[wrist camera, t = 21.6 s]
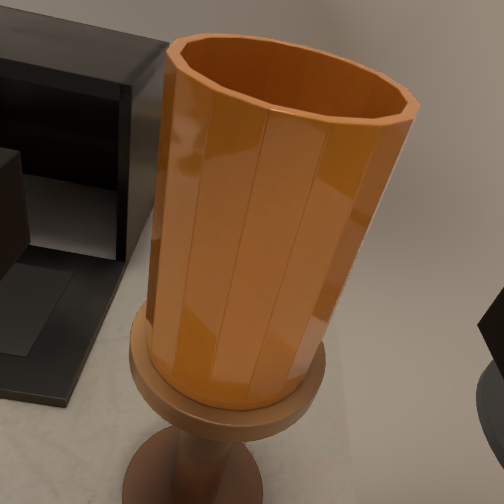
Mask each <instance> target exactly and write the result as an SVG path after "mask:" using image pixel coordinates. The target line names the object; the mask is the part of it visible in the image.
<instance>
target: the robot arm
mask: <svg viewBox="0 0 504 504" xmlns="http://www.w3.org/2000/svg"><path fill="white" fill-rule="evenodd" d="M30 242H31V241H30V232H29V224H28V215H27V207H26V198H25V190H24V181H23V173H22V165H21V156H20V151H17V150H12V149H7V148H2V147H0V281H1V280H2V278H3V277H4V276H5V275H6V273H7V272H8V271H9V269H10V268H11V267H12V266H13V264H14V263H15V262H16V260H17V259H18V258H19V257H20V255H21V254H22V253H23V251H24V250H25V249H26V247H27V246H28V245H29V244H30ZM477 326H478V328H479V330H480V332H481V334H482V336H483V338H484V340H485V342H486V344H487V346H488V348H489V350H490V352H491V355H492V357H493V359H494V361H495V363H496V365H497V367H498V369H499V371H500V373H501V375H502V377H503V380H504V288H503V289H502V290H501V292H500V294H499V295H498V296H497V298H496V299H495V300H494V302H493V303H492V305H491V306H490V307H489V309H488V310H487V312H486V313H485V315H484V316H483V317H482V319H481V320H480V322H479V323H478V324H477Z"/></svg>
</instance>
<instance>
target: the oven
mask: <svg viewBox="0 0 504 504" xmlns="http://www.w3.org/2000/svg"><path fill="white" fill-rule="evenodd" d="M168 48H169V42H165V41H160V40H155V39H151V38H146V37H142V36H137V35H133V34H128V33H123V32H119V31H114V30H110V29H106V28H101V27H96V26H92V25H87V24H83V23H78V22H73V21H68V20H64V19H59V18H55V17H51V16H46V15H41V14H37V13H32V12H27V11H23V10H19V9H14V8H9V7H5V6H0V147H2V148H7V149H12V150H17V151H20V156H21V165H22V173H24V174H29V175H35V176H40V177H45V178H50V179H56V180H61V181H66V182H71V183H76V184H82V185H87V186H92V187H97V188H103V189H108V190H113V191H117V236H116V260H111V259H105V258H100V257H94V256H89V255H83V254H77V253H72V252H66V251H61V250H55V249H50V248H44V247H38V246H33V245H28V246H27V247H26V249H25V250H24V251H23V253H22V254H21V255H20V257H19V258H18V259H17V260H16V262H15V263H14V264H13V266H12V267H11V268H10V269H9V271H8V272H7V273H6V275H5V276H4V277H3V278H2V280H1V281H0V398H7V399H13V400H20V401H26V402H33V403H39V404H46V405H52V406H59V407H66V405H67V403H68V401H69V398H70V396H71V394H72V392H73V389H74V387H75V385H76V382H77V380H78V378H79V375H80V373H81V371H82V368H83V366H84V364H85V362H86V359H87V357H88V355H89V352H90V350H91V348H92V345H93V343H94V341H95V339H96V336H97V334H98V332H99V329H100V327H101V325H102V322H103V320H104V318H105V315H106V313H107V311H108V309H109V306H110V304H111V302H112V299H113V297H114V295H115V292H116V290H117V288H118V285H119V283H120V281H121V279H122V276H123V274H124V272H125V269H126V267H127V265H128V262H129V260H130V258H131V256H132V253H133V251H134V249H135V246H136V244H137V242H138V239H139V237H140V235H141V232H142V230H143V228H144V226H145V223H146V221H147V219H148V216H149V214H150V212H151V209H152V207H153V205H154V201H155V188H156V175H157V162H158V149H159V135H160V122H161V109H162V96H163V83H164V70H165V57H166V50H167V49H168Z"/></svg>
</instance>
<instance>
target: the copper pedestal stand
mask: <svg viewBox="0 0 504 504" xmlns="http://www.w3.org/2000/svg"><path fill="white" fill-rule="evenodd" d="M146 306H147V300H146V301H145V303H144V304H143V305H142V306H141V308H140V309H139V311H138V312H137V314H136V317H135V319H134V321H133V324H132V328H131V333H130V348H129V362H130V369H131V373H132V377H133V380H134V382H135V384H136V387H137V389H138V391H139V392H140V394H141V395H142V397H143V398H144V400H145V401H146V402H147V403H148V405H149V406H150V407H151V408H152V409H153V410H154V411H155V412H156V413H157V414H158V415H160V416H161V417H162V418H163V419H164V420H166V421H167V422H169V423H170V424H172V425H173V426H170V427H168V428H165V429H163V430H161V431H160V432H158V433H156V434H155V435H153V436H152V437H150V438H149V439H148V440H147V441H146V442H145V443H144V444H143V445H142V446H141V447H140V448H139V449H138V451H137V452H136V453H135V455H134V457H133V458H132V460H131V462H130V464H129V466H128V468H127V471H126V474H125V478H124V483H123V492H122V504H262V500H263V486H262V480H261V475H260V472H259V469H258V466H257V464H256V462H255V460H254V458H253V456H252V454H251V453H250V452H249V450H248V449H247V448H246V446H245V445H244V444H243V443H242V442H249V441H255V440H260V439H263V438H267V437H270V436H273V435H275V434H277V433H279V432H281V431H284V430H285V429H287V428H288V427H290V426H291V425H293V424H294V423H295V422H296V421H298V420H299V419H300V418H301V417H302V416H303V415H304V414H305V412H306V411H307V410H308V408H309V407H310V405H311V403H312V402H313V400H314V398H315V396H316V394H317V391H318V389H319V387H320V385H321V382H322V379H323V376H324V372H325V365H326V358H325V349H324V344H323V341H321V344H320V346H319V348H318V351H317V353H316V356H315V358H314V360H313V362H312V364H311V366H310V368H309V371H308V373H307V375H306V377H305V379H304V380H303V382H302V383H301V384H300V386H299V387H298V388H297V389H296V390H295V391H294V392H293V393H291V394H290V395H289V396H287V397H286V398H284V399H283V400H281V401H279V402H277V403H274V404H272V405H270V406H266V407H262V408H259V409H251V410H226V409H220V408H215V407H210V406H207V405H204V404H202V403H199V402H196V401H194V400H192V399H190V398H188V397H186V396H185V395H183V394H181V393H180V392H178V391H177V390H176V389H174V388H173V387H172V386H171V385H170V384H168V383H167V382H166V381H165V379H164V378H163V377H162V376H161V375H160V374H159V372H158V371H157V369H156V368H155V367H154V365H153V363H152V361H151V359H150V356H149V353H148V350H147V344H146V329H145V319H146Z"/></svg>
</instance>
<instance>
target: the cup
mask: <svg viewBox="0 0 504 504" xmlns="http://www.w3.org/2000/svg"><path fill="white" fill-rule="evenodd" d="M419 110H420V104H419V103H418V102H417V100H416V99H415V98H414V96H413V95H412V94H411V92H410V91H409V90H408V89H407V88H405V87H403V86H402V85H400V84H399V83H397V82H395V81H394V80H392V79H391V78H389V77H387V76H386V75H384V74H382V73H380V72H378V71H375V70H373V69H371V68H368V67H366V66H364V65H361V64H359V63H357V62H354V61H352V60H349V59H346V58H343V57H340V56H337V55H334V54H331V53H327V52H324V51H321V50H317V49H314V48H311V47H306V46H302V45H298V44H293V43H289V42H284V41H280V40H275V39H269V38H262V37H254V36H247V35H239V34H197V35H192V36H187V37H183V38H178V39H175V41H174V42H173V43H172V44H171V46H170V47H169V48H168V49H167V50H166V57H165V70H164V83H163V96H162V109H161V122H160V135H159V149H158V162H157V175H156V188H155V201H154V214H153V227H152V240H151V254H150V267H149V280H148V293H147V306H146V319H145V329H146V344H147V350H148V353H149V356H150V359H151V361H152V363H153V365H154V367H155V368H156V369H157V371H158V372H159V374H160V375H161V376H162V377H163V378H164V379H165V381H166V382H167V383H168V384H170V385H171V386H172V387H173V388H174V389H176V390H177V391H178V392H180V393H181V394H183V395H185V396H186V397H188V398H190V399H192V400H194V401H196V402H199V403H202V404H204V405H207V406H210V407H215V408H220V409H226V410H251V409H259V408H262V407H266V406H270V405H272V404H274V403H277V402H279V401H281V400H283V399H284V398H286V397H287V396H289V395H290V394H291V393H293V392H294V391H295V390H296V389H297V388H298V387H299V386H300V384H301V383H302V382H303V380H304V379H305V377H306V375H307V373H308V371H309V368H310V366H311V364H312V362H313V360H314V358H315V356H316V353H317V351H318V348H319V346H320V344H321V341H322V339H323V337H324V334H325V332H326V330H327V327H328V325H329V322H330V320H331V318H332V315H333V313H334V311H335V308H336V306H337V304H338V301H339V299H340V296H341V294H342V292H343V289H344V287H345V285H346V282H347V280H348V277H349V275H350V273H351V270H352V268H353V265H354V263H355V261H356V259H357V256H358V254H359V251H360V249H361V247H362V244H363V242H364V240H365V237H366V235H367V232H368V230H369V228H370V226H371V223H372V221H373V219H374V216H375V214H376V211H377V209H378V207H379V204H380V202H381V199H382V197H383V195H384V192H385V190H386V188H387V185H388V183H389V180H390V178H391V176H392V173H393V171H394V169H395V166H396V164H397V162H398V159H399V157H400V155H401V152H402V150H403V148H404V145H405V143H406V141H407V138H408V136H409V133H410V131H411V129H412V126H413V124H414V122H415V119H416V117H417V115H418V112H419Z"/></svg>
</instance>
